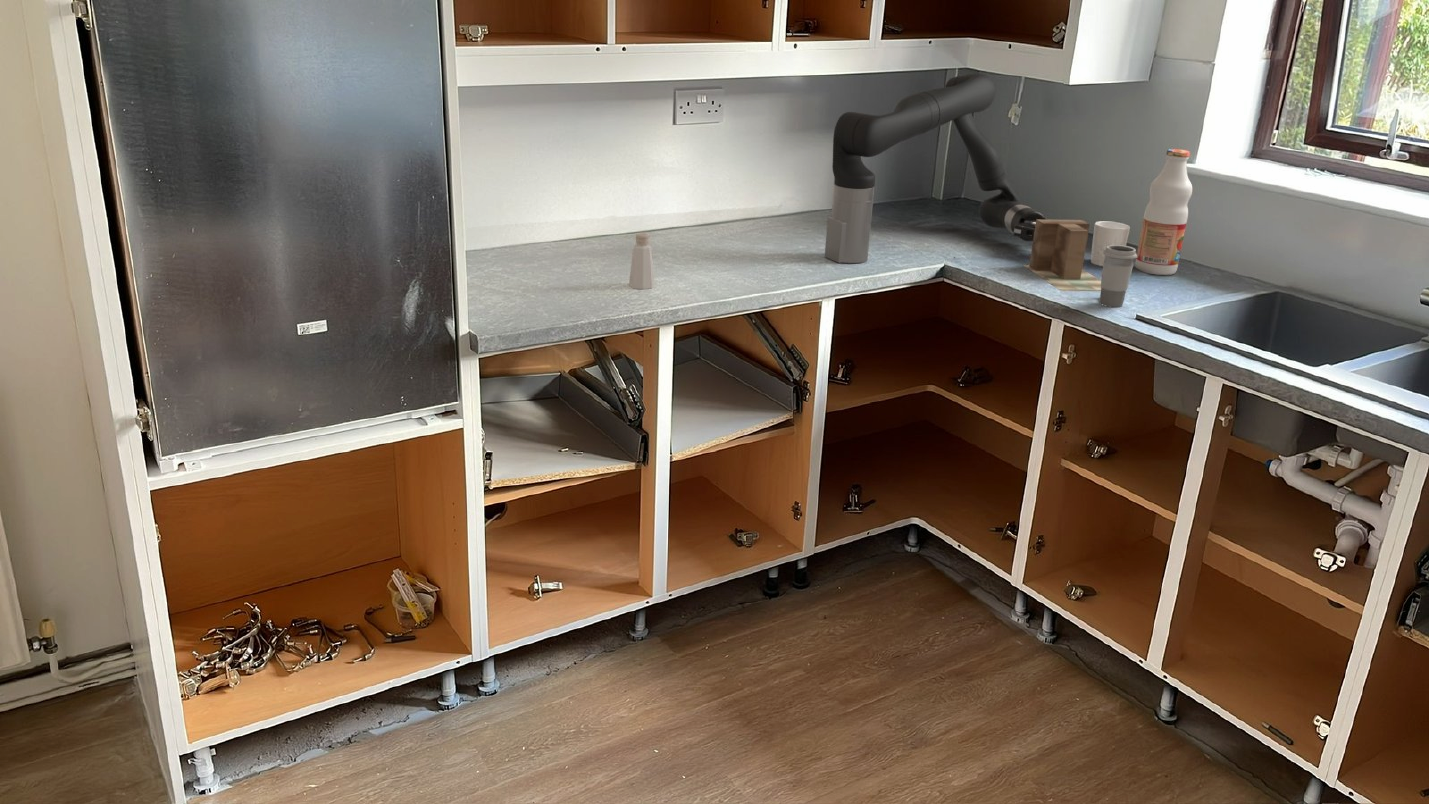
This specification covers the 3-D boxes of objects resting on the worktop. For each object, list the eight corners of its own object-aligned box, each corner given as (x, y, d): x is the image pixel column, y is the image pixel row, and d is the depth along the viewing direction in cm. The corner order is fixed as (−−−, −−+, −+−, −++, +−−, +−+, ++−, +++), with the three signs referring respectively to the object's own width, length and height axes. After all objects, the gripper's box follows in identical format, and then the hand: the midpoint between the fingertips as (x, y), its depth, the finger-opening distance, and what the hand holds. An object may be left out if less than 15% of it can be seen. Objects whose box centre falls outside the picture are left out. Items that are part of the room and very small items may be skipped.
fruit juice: (1127, 264, 263) (1149, 146, 252) (1165, 265, 264) (1188, 147, 253) (1144, 275, 254) (1168, 153, 244) (1183, 276, 255) (1208, 154, 244)
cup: (1102, 297, 235) (1112, 242, 231) (1132, 304, 231) (1143, 248, 227) (1088, 303, 230) (1098, 247, 226) (1119, 310, 226) (1130, 254, 222)
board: (1022, 268, 256) (1023, 265, 255) (1075, 268, 257) (1076, 265, 257) (1060, 294, 236) (1061, 290, 236) (1117, 294, 238) (1117, 290, 238)
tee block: (1029, 266, 254) (1036, 219, 250) (1073, 266, 256) (1081, 219, 252) (1048, 279, 244) (1056, 230, 240) (1095, 279, 246) (1103, 231, 242)
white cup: (1125, 265, 262) (1133, 224, 258) (1118, 272, 256) (1126, 230, 252) (1091, 260, 266) (1099, 219, 262) (1084, 267, 259) (1091, 225, 256)
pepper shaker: (639, 280, 232) (640, 229, 228) (659, 285, 230) (661, 234, 225) (623, 286, 228) (623, 234, 224) (643, 291, 225) (644, 238, 221)
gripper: (1001, 207, 267) (1029, 223, 251) (1052, 207, 269) (1083, 223, 253) (997, 237, 270) (1024, 255, 254) (1047, 237, 272) (1078, 255, 256)
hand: (1054, 239), depth 254 cm, fingers closed
